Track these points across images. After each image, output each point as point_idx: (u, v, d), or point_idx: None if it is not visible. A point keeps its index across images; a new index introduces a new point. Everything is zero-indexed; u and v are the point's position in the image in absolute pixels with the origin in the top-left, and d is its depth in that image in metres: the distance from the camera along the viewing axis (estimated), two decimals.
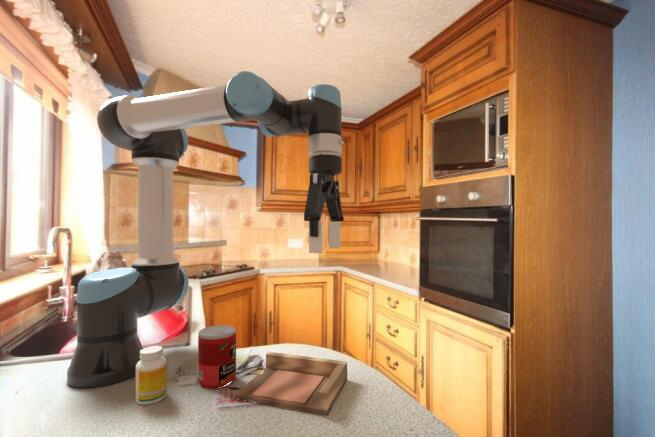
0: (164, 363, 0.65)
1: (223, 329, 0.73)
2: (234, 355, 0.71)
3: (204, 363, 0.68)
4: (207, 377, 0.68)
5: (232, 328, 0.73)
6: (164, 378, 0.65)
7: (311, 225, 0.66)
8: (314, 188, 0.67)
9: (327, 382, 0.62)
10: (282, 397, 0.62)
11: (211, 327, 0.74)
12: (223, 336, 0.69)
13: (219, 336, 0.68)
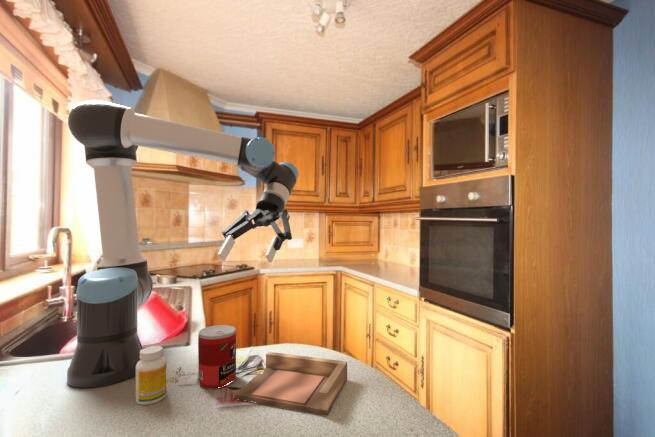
0: (164, 363, 0.65)
1: (223, 329, 0.73)
2: (234, 355, 0.71)
3: (204, 363, 0.68)
4: (207, 377, 0.68)
5: (232, 328, 0.73)
6: (164, 378, 0.65)
7: (281, 240, 0.83)
8: (287, 220, 0.88)
9: (327, 382, 0.62)
10: (282, 397, 0.62)
11: (211, 327, 0.74)
12: (223, 336, 0.69)
13: (219, 336, 0.68)
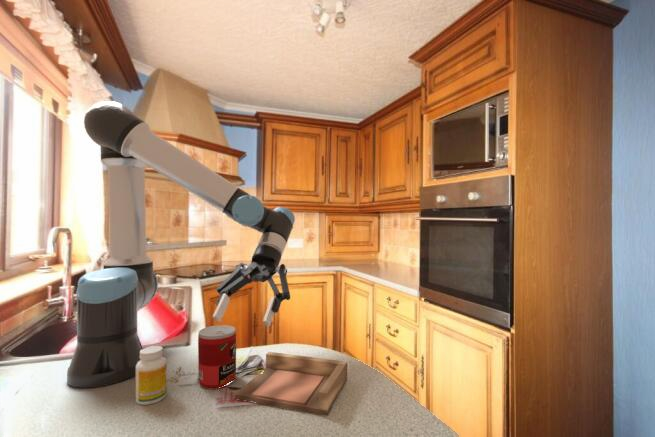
0: (164, 363, 0.65)
1: (223, 329, 0.73)
2: (234, 355, 0.71)
3: (204, 363, 0.68)
4: (207, 377, 0.68)
5: (232, 328, 0.73)
6: (164, 378, 0.65)
7: (279, 302, 0.79)
8: (285, 276, 0.85)
9: (327, 382, 0.62)
10: (282, 397, 0.62)
11: (211, 327, 0.74)
12: (223, 336, 0.69)
13: (219, 336, 0.68)
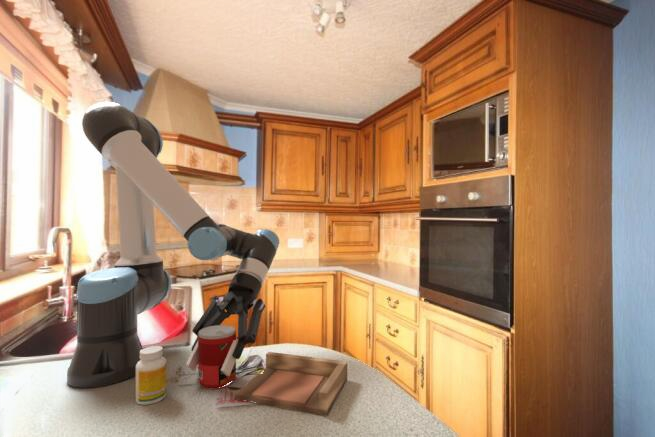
0: (164, 363, 0.65)
1: (223, 329, 0.73)
2: None
3: (204, 363, 0.68)
4: (207, 377, 0.68)
5: (232, 328, 0.73)
6: (164, 378, 0.65)
7: (241, 346, 0.70)
8: (258, 314, 0.76)
9: (327, 382, 0.62)
10: (282, 397, 0.62)
11: (211, 327, 0.74)
12: (223, 336, 0.69)
13: (219, 336, 0.68)
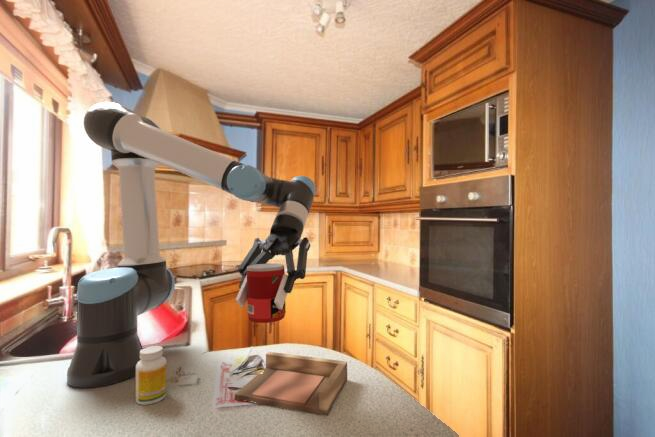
0: (164, 363, 0.65)
1: (270, 266, 0.71)
2: None
3: (255, 297, 0.66)
4: (259, 310, 0.66)
5: (280, 264, 0.71)
6: (164, 378, 0.65)
7: (292, 280, 0.68)
8: (305, 252, 0.73)
9: (327, 382, 0.62)
10: (282, 397, 0.62)
11: (257, 265, 0.72)
12: (274, 268, 0.66)
13: (270, 268, 0.66)
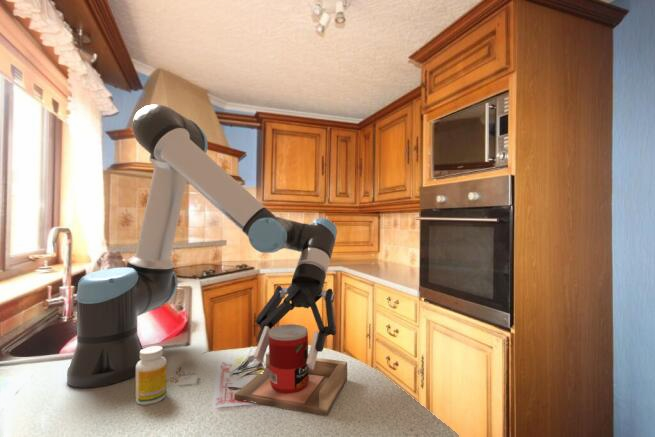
0: (164, 363, 0.65)
1: (293, 329, 0.69)
2: (307, 356, 0.66)
3: (278, 366, 0.63)
4: (283, 381, 0.63)
5: (302, 328, 0.68)
6: (164, 378, 0.65)
7: (323, 338, 0.66)
8: (332, 305, 0.71)
9: (327, 382, 0.62)
10: (282, 397, 0.62)
11: (279, 327, 0.69)
12: (298, 337, 0.64)
13: (294, 337, 0.63)
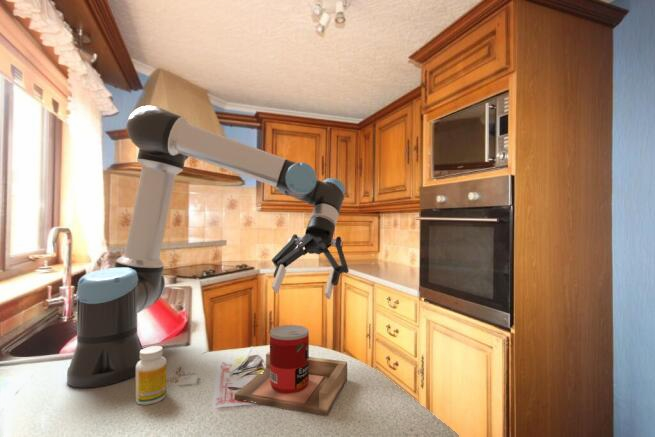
0: (164, 363, 0.65)
1: (294, 329, 0.69)
2: (308, 357, 0.66)
3: (279, 366, 0.64)
4: (283, 380, 0.63)
5: (303, 328, 0.69)
6: (164, 378, 0.65)
7: (338, 274, 0.79)
8: None
9: (327, 382, 0.62)
10: (282, 397, 0.62)
11: (280, 327, 0.70)
12: (299, 337, 0.64)
13: (295, 337, 0.64)
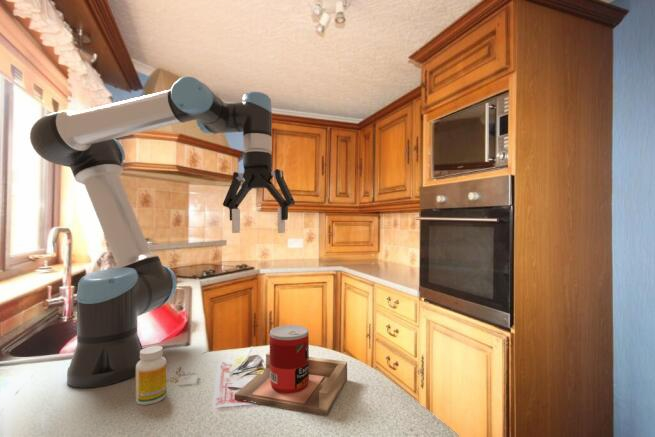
0: (164, 363, 0.65)
1: (293, 329, 0.69)
2: (308, 357, 0.66)
3: (279, 366, 0.64)
4: (283, 381, 0.63)
5: (303, 328, 0.69)
6: (164, 378, 0.65)
7: (286, 210, 0.84)
8: (283, 181, 0.85)
9: (327, 382, 0.62)
10: (282, 397, 0.62)
11: (280, 327, 0.70)
12: (299, 337, 0.64)
13: (295, 337, 0.64)
